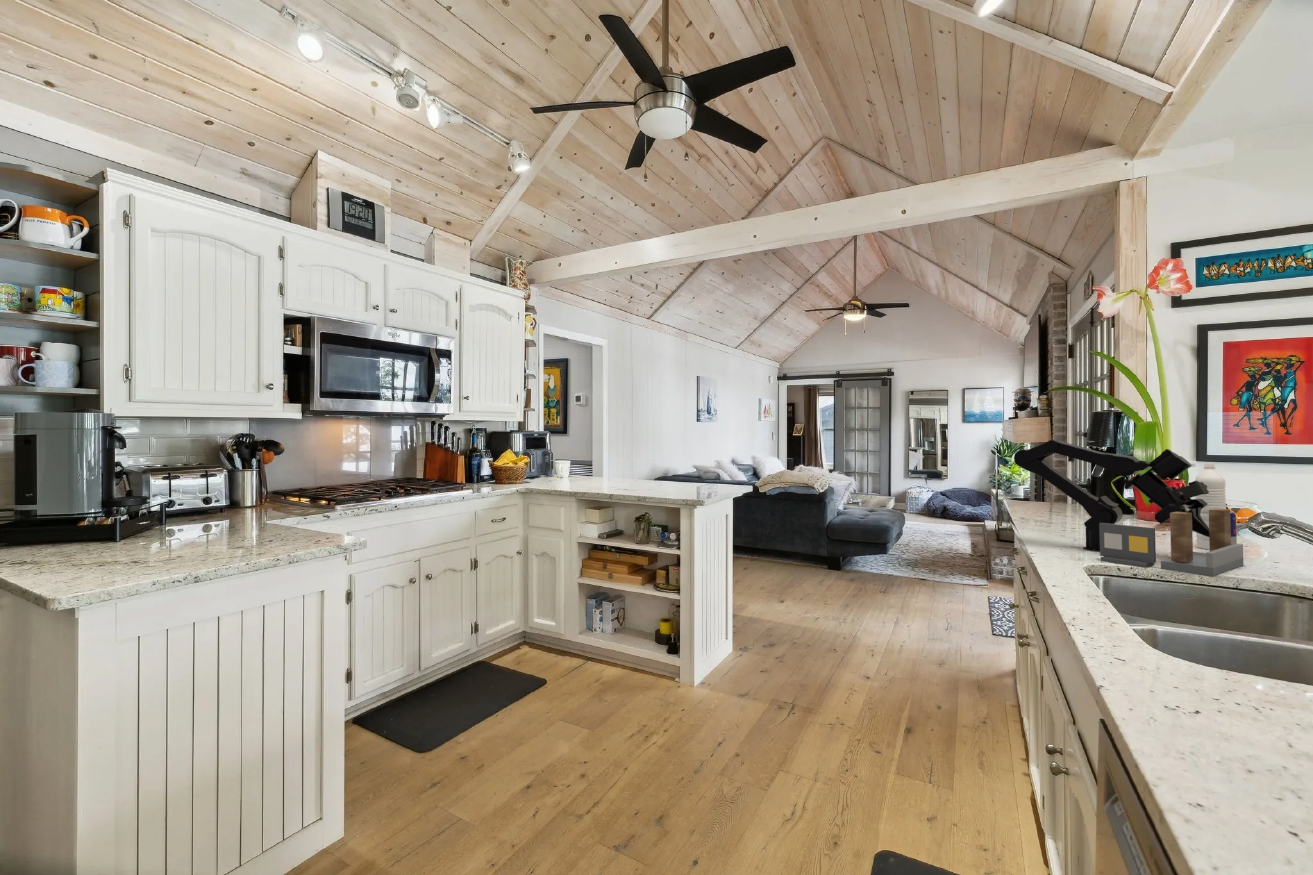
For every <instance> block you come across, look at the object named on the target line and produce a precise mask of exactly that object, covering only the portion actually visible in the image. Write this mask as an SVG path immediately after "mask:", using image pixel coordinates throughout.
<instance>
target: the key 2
mask: <svg viewBox="0 0 1313 875" xmlns="http://www.w3.org/2000/svg"><path fill="white" fill-rule="evenodd" d="M1230 511H1231V509H1229V508H1228V509H1227V508H1226V509H1216V508H1214V509H1209V543H1210V550H1209V552H1210V551H1213V550H1217V549H1220V548H1223V547H1226V546H1230V545H1231V524H1230Z"/></svg>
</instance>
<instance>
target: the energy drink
mask: <svg viewBox="0 0 1313 875" xmlns="http://www.w3.org/2000/svg"><path fill="white" fill-rule="evenodd" d="M1230 524H1231V545H1233V544H1236V543H1237V542H1238V540H1237V539H1238V536H1237V534H1238V533H1237V532H1238V531H1237V515H1236V512H1235V511H1231V510H1230ZM1237 544H1238V543H1237Z"/></svg>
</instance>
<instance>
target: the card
mask: <svg viewBox="0 0 1313 875" xmlns="http://www.w3.org/2000/svg"><path fill="white" fill-rule="evenodd" d="M1099 533H1100V551H1099V556H1100V562H1105V563H1106V562H1107V563H1113V564H1119V565H1124V566H1125V565H1126V566H1132V567H1140V568H1145V569H1146V568H1149V567H1153V566H1155V564H1157V560H1156V559H1157V554H1156V552H1157V551H1156V550H1157V549H1156V546H1157V545H1156V528H1155V527H1146V526H1138V525H1137V526H1134V525H1128V524H1127V525H1126V524H1118V523H1115V524H1108V523H1099Z"/></svg>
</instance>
